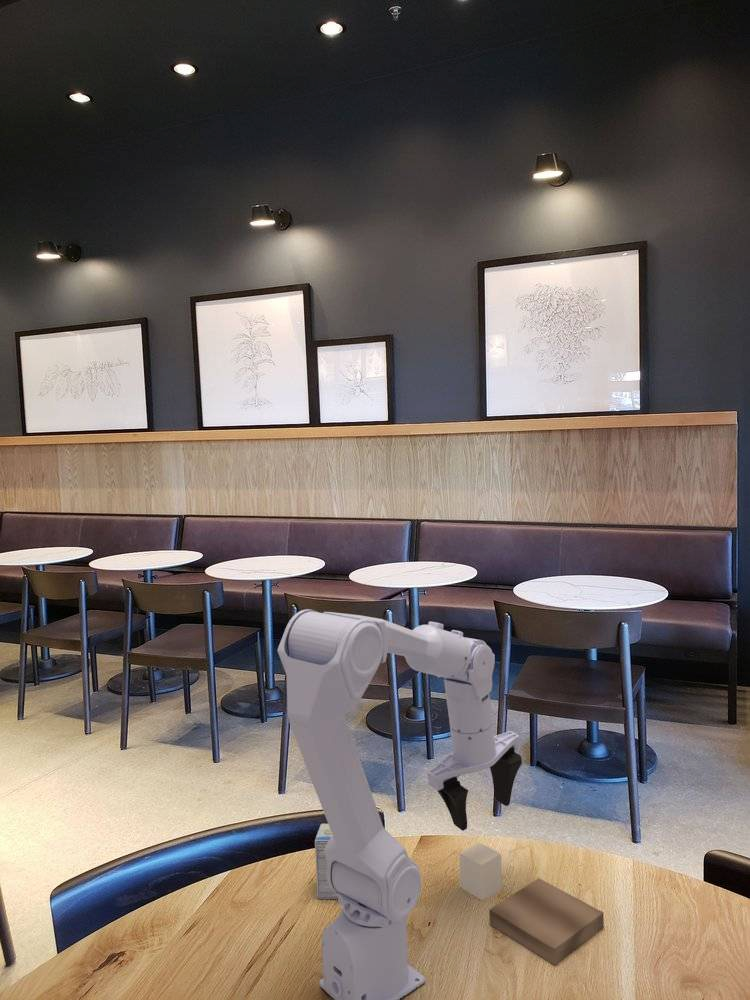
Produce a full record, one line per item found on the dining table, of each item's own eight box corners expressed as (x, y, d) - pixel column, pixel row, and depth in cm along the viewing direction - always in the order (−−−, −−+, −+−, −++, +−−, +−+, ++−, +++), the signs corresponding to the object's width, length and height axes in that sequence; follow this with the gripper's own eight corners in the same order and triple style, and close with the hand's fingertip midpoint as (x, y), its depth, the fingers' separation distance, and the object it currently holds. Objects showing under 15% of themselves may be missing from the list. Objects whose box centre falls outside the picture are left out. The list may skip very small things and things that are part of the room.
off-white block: (482, 900, 99) (481, 865, 98) (460, 887, 102) (459, 853, 101) (501, 888, 101) (501, 853, 101) (480, 876, 104) (479, 842, 104)
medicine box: (377, 882, 104) (375, 823, 103) (374, 902, 99) (372, 840, 98) (322, 881, 104) (319, 822, 104) (316, 900, 100) (314, 838, 99)
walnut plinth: (554, 965, 86) (554, 949, 86) (489, 924, 94) (489, 909, 93) (603, 927, 92) (603, 912, 92) (539, 892, 100) (538, 878, 100)
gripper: (492, 694, 105) (502, 780, 107) (409, 732, 98) (422, 823, 100) (527, 711, 99) (536, 801, 101) (441, 752, 92) (454, 849, 94)
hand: (482, 814), depth 100 cm, fingers open, 7 cm apart
